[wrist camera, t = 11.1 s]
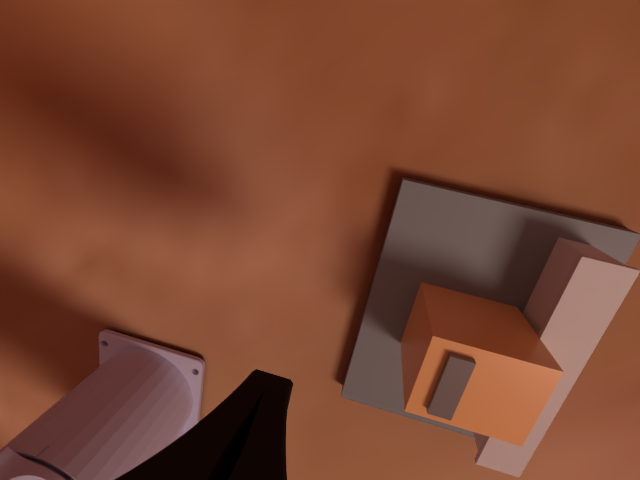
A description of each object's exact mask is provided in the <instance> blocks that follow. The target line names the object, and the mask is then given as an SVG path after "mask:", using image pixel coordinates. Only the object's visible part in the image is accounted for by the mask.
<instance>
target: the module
mask: <svg viewBox="0 0 640 480" xmlns="http://www.w3.org/2000/svg"><path fill="white" fill-rule="evenodd" d="M400 345H401V361H402V378H403V394H404V410H405V411H406V412H409V413H412V414H416V415H419V416H422V417H425V418H429V419H432V420H435V421H439V422H442V423H445V424H449V425H452V426H455V427H459V428H462V429H465V430H469V431H472V432H475V433H478V434H482V435H485V436H488V437H492V438H495V439H498V440H502V441H505V442H508V443H512V444H515V445H518V446H523V444H524V442H525V441H526V439H527V437H528V435H529V433H530V432H531V430H532V428H533V426H534V425H535V423H536V421H537V419H538V417H539V416H540V414H541V412H542V410H543V409H544V407H545V405H546V403H547V401H548V400H549V398H550V396H551V394H552V393H553V391H554V389H555V387H556V385H557V384H558V382H559V380H560V378H561V377H562V375H563V373H564V371H563V370H562V369H561V367H560V366H559V364H558V363H557V362H556V360H555V359H554V357H553V356H552V355H551V353H550V352H549V350H548V349H547V348H546V346H545V345H544V344H543V342H542V341H541V339H540V338H539V337H538V335H537V334H536V332H535V331H534V330H533V328H532V327H531V325H530V324H529V323H528V321H527V320H526V318H525V317H524V316H523V314H522V313H521V311H520V310H519V309H518V307H515V306H511V305H507V304H503V303H499V302H496V301H492V300H488V299H484V298H480V297H476V296H473V295H469V294H465V293H461V292H457V291H453V290H449V289H446V288H442V287H438V286H434V285H430V284H426V283H422V282H421V284H420V287H419V290H418V293H417V296H416V299H415V302H414V305H413V308H412V311H411V314H410V317H409V319H408V322H407V325H406V328H405V331H404V334H403V337H402V340H401V343H400Z"/></svg>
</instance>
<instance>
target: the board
mask: <svg viewBox="0 0 640 480" xmlns="http://www.w3.org/2000/svg"><path fill="white" fill-rule="evenodd" d="M639 239H640V234H639V233H637V232H634V231H632V230H630V229H627V228H623V227H619V226H614V225H610V224H606V223H601V222H597V221H592V220H588V219H584V218H579V217H575V216H571V215H566V214H562V213H558V212H553V211H549V210H545V209H540V208H536V207H532V206H527V205H523V204H519V203H514V202H510V201H505V200H501V199H497V198H492V197H488V196H484V195H479V194H475V193H471V192H466V191H462V190H458V189H453V188H449V187H445V186H440V185H436V184H432V183H427V182H423V181H419V180H414V179H410V178H405V177H402V180H401V183H400V187H399V190H398V194H397V197H396V201H395V204H394V208H393V211H392V215H391V218H390V222H389V225H388V229H387V232H386V236H385V239H384V243H383V246H382V250H381V253H380V257H379V260H378V264H377V267H376V271H375V274H374V278H373V281H372V285H371V288H370V292H369V295H368V299H367V302H366V306H365V309H364V313H363V316H362V320H361V323H360V327H359V330H358V334H357V337H356V341H355V344H354V348H353V351H352V355H351V358H350V362H349V365H348V369H347V372H346V376H345V379H344V383H343V387H342V393H341V397H343V398H346V399H349V400H352V401H356V402H359V403H362V404H366V405H369V406H372V407H375V408H379V409H382V410H385V411H389V412H392V413H395V414H398V415H402V416H405V417H408V418H412V419H415V420H418V421H421V422H425V423H428V424H431V425H435V426H438V427H441V428H444V429H448V430H451V431H454V432H458V433H461V434H464V435H467V436H471V437H474V438H475V441H476V444H477V448H478V453H477V455H476V457H475V463H476V464H477V465H481V466H484V467H487V468H490V469H493V470H497V471H500V472H503V473H506V474H509V475H513V476H516V477H520V475H521V473H522V472H523V470H524V468H525V467H526V465H527V463H528V462H529V460H530V458H531V456H532V455H533V453H534V451H535V450H536V448H537V446H538V445H539V443H540V441H541V439H542V438H543V436H544V434H545V433H546V431H547V429H548V427H549V426H550V424H551V422H552V421H553V419H554V417H555V416H556V414H557V412H558V410H559V409H560V407H561V405H562V404H563V402H564V400H565V399H566V397H567V395H568V393H569V392H570V390H571V388H572V387H573V385H574V383H575V381H576V380H577V378H578V376H579V375H580V373H581V371H582V370H583V368H584V366H585V364H586V363H587V361H588V359H589V358H590V356H591V354H592V352H593V351H594V349H595V347H596V346H597V344H598V342H599V341H600V339H601V337H602V335H603V334H604V332H605V330H606V329H607V327H608V325H609V324H610V322H611V320H612V318H613V317H614V315H615V313H616V312H617V310H618V308H619V306H620V305H621V303H622V301H623V300H624V298H625V296H626V295H627V293H628V291H629V289H630V288H631V286H632V284H633V283H634V281H635V279H636V278H637V276H638V274H639V272H640V270H638V269H637V268H634V267H630V266H626V265H625V264H626V262H627V261H628V259H629V257H630V255H631V254H632V252H633V250H634V248H635V247H636V245H637V243H638V241H639ZM421 282H422V283H426V284H430V285H434V286H438V287H442V288H446V289H449V290H453V291H457V292H461V293H465V294H469V295H473V296H476V297H480V298H484V299H488V300H492V301H496V302H499V303H503V304H507V305H511V306H515V307H518V309H519V310H520V311H521V313H522V314H523V316H524V317H525V318H526V320H527V321H528V323H529V324H530V325H531V327H532V328H533V330H534V331H535V332H536V334H537V335H538V337H539V338H540V339H541V341H542V342H543V344H544V345H545V346H546V348H547V349H548V350H549V352H550V353H551V355H552V356H553V357H554V359H555V360H556V362H557V363H558V364H559V366H560V367H561V369H562V370H563V371H564V373H563V375H562V377H561V378H560V380H559V382H558V384H557V385H556V387H555V389H554V391H553V393H552V394H551V396H550V398H549V400H548V401H547V403H546V405H545V407H544V409H543V410H542V412H541V414H540V416H539V417H538V419H537V421H536V423H535V425H534V426H533V428H532V430H531V432H530V433H529V435H528V437H527V439H526V441H525V442H524V444H523V446H518V445H515V444H512V443H508V442H505V441H502V440H498V439H495V438H492V437H488V436H485V435H482V434H478V433H475V432H472V431H469V430H465V429H462V428H459V427H455V426H452V425H449V424H445V423H442V422H439V421H435V420H432V419H429V418H425V417H422V416H419V415H416V414H412V413H409V412H406V411H405V410H404V394H403V378H402V361H401V345H400V343H401V340H402V337H403V334H404V331H405V328H406V325H407V322H408V319H409V317H410V314H411V311H412V308H413V305H414V302H415V299H416V296H417V293H418V290H419V287H420V284H421Z"/></svg>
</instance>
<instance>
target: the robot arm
mask: <svg viewBox="0 0 640 480" xmlns="http://www.w3.org/2000/svg"><path fill="white" fill-rule="evenodd" d="M195 369H196V370H195ZM204 369H205V362H204V361H203V360H202V359H201V358H199V357H196V356H193V355H190V354H187V353H183V352H180V351H177V350H173V349H170V348H167V347H164V346H160V345H157V344H154V343H151V342H147V341H144V340H141V339H137V338H134V337H131V336H128V335H124V334H121V333H118V332H115V331H111V330H108V329H104V330H103V331H101V332H100V333H99V367H98V368H97V369H96V370H95V371H94V372H92V373H91V374H90V375H89V376H88V377H86V378H85V379H84V380H83V381H82V382H80V383H79V384H78V385H77V386H76V387H75V388H73V389H72V390H71V391H70V392H69V393H67V394H66V395H65V396H64V397H63V398H61V399H60V400H59V401H58V402H57V403H55V404H54V405H53V406H52V407H51V408H49V409H48V410H47V411H46V412H45V413H44V414H42V415H41V416H40V417H39V418H38V419H36V420H35V421H34V422H33V423H32V424H30V425H29V426H28V427H27V428H26V429H24V430H23V431H22V432H21V433H20V434H19V435H17V436H16V437H15V438H14V439H13V440H11V441H10V442H9V443H8V444H7V445H5V446H4V447H3V448H2V449H1V450H0V480H287V473H286V418H287V409H288V404H289V400H290V395H291V391H292V386H293V383H292V381H291V380H290V379H287V378H283V377H280V376H277V375H273V374H270V373H267V372H264V371H260V370H257V369H256V370H254V371H253V372H252V373H251V374H250V375H249V376H248V377H247V378H246V379H245V380H244V381H243V383H242V384H241V385H240V386H239V387H238V388H237V389H236V390H235V391H233V392H232V393H231V394H230V395H229V396H228V397H227V398H226V399H225V400H224V401H223V402H222V403H221V404H219V405H218V406H217V407H216V408H215V409H214V410H213V411H212V412H210V413H209V414H208V415H207V416H206V417H204V418H203V419H202V420H201V421H199V418H200V408H201V398H202V388H203V379H204ZM197 370H198V371H197Z"/></svg>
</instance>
